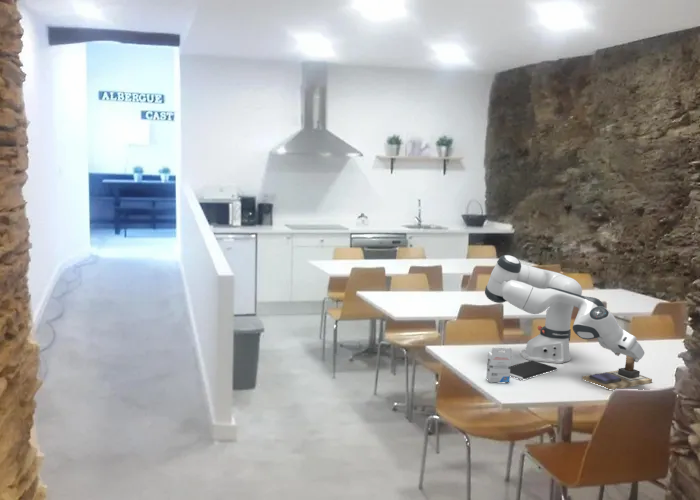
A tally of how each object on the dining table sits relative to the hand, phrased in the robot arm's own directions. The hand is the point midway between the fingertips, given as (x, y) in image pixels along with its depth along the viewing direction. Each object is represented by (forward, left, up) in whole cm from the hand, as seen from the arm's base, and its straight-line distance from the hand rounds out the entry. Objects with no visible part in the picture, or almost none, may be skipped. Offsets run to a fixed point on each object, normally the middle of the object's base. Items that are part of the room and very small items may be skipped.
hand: (627, 357), depth 293 cm
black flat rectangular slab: (-40, +6, -11) cm, 42 cm away
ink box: (-56, -10, -10) cm, 58 cm away
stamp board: (-4, -2, -10) cm, 11 cm away
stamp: (+2, +2, -8) cm, 9 cm away
